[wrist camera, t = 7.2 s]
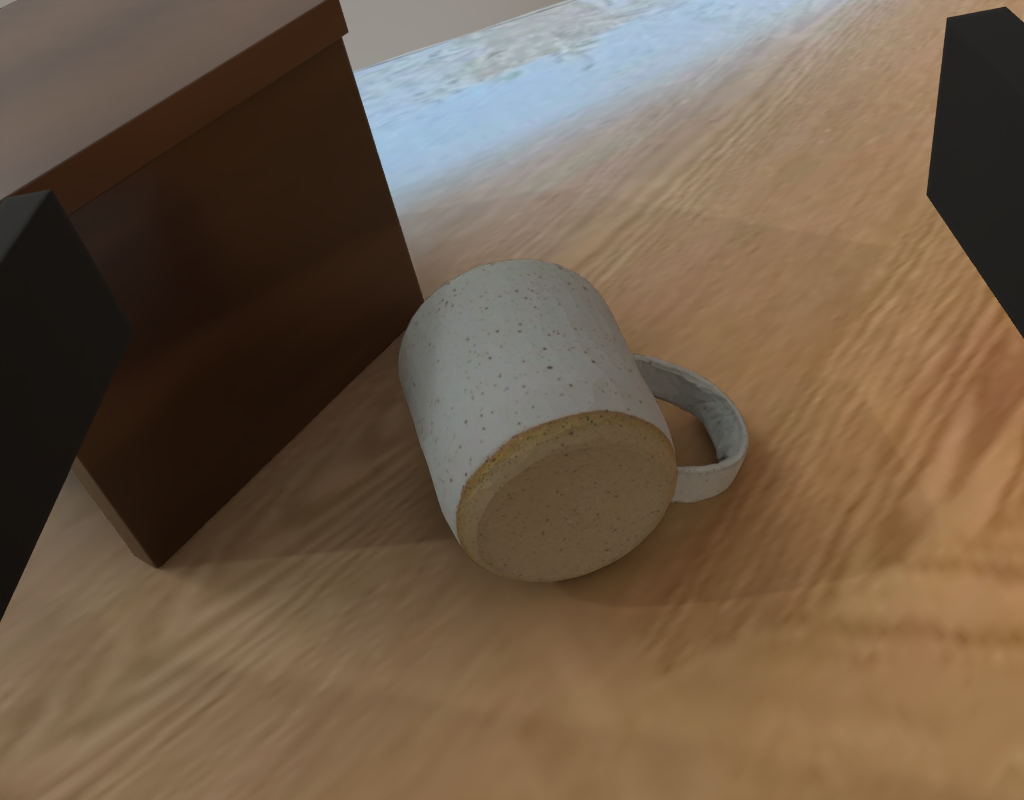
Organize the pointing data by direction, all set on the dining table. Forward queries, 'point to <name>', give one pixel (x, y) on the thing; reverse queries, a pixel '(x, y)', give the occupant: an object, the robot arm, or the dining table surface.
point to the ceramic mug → (551, 422)
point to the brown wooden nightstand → (207, 231)
